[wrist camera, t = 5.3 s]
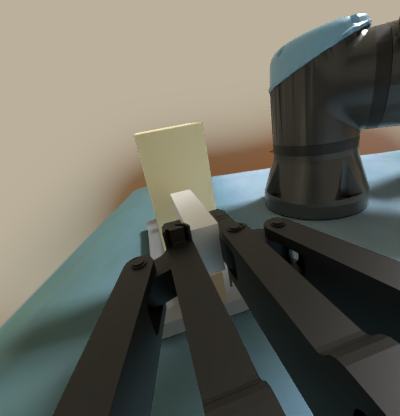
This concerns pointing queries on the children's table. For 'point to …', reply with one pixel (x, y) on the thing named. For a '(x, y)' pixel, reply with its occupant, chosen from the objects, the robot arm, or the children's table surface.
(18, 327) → the children's table surface
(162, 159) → the pale yellow block
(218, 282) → the rod bead slider
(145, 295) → the robot arm
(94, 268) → the children's table surface
